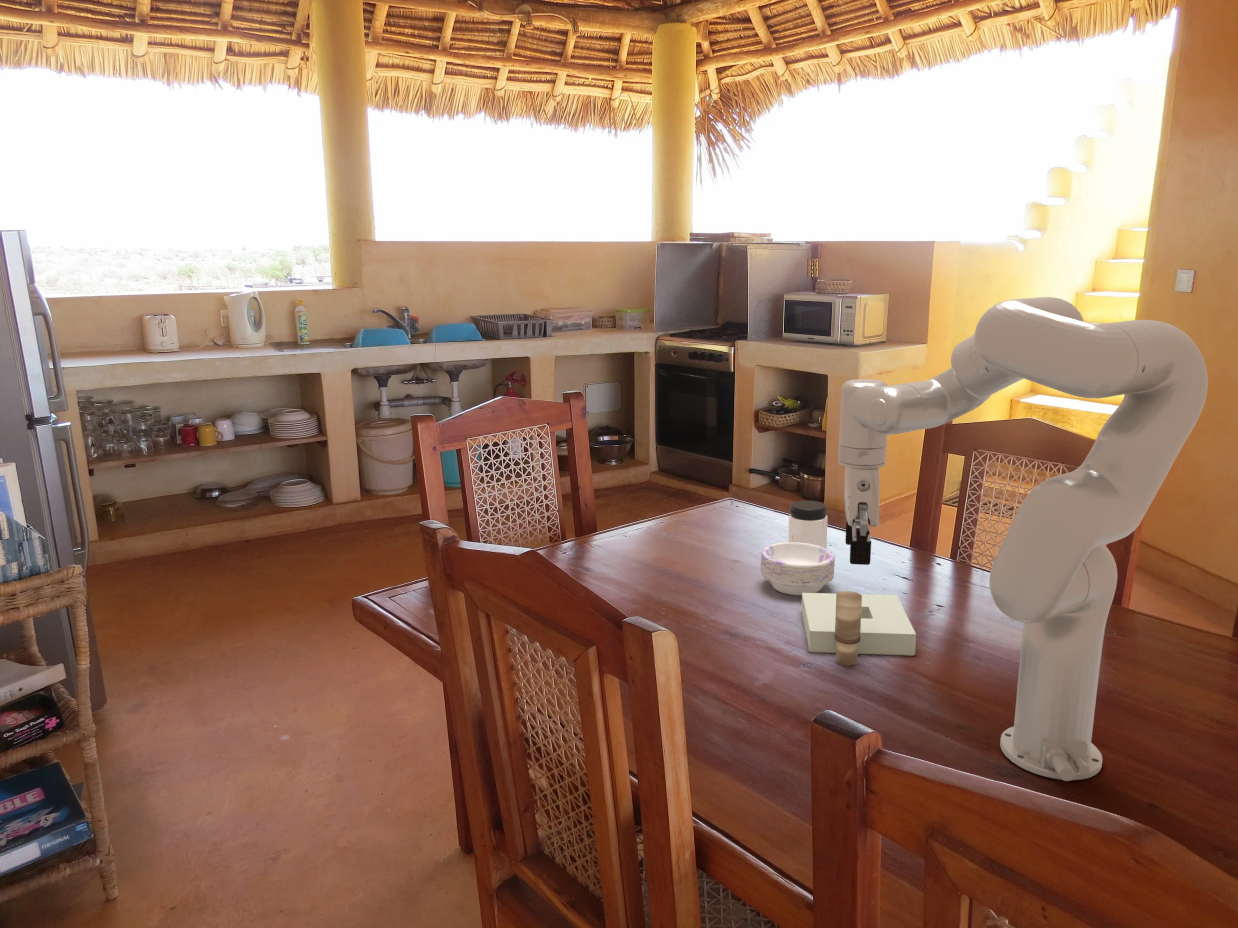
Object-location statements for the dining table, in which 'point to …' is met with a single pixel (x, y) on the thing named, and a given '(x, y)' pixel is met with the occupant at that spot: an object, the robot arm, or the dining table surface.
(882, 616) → the board
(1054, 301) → the robot arm
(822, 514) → the jar
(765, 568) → the paper bowls
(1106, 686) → the dining table surface
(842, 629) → the peg
